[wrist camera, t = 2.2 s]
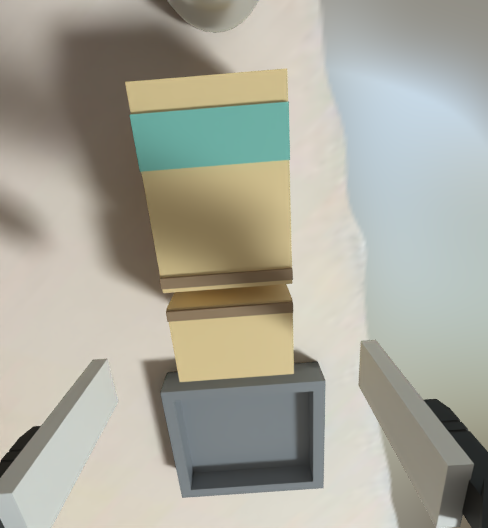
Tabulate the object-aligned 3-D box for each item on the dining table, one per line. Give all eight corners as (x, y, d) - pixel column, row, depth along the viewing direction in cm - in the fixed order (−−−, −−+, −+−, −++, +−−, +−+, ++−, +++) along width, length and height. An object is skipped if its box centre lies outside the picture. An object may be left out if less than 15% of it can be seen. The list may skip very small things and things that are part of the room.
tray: (167, 372, 27) (160, 392, 25) (317, 361, 27) (325, 380, 25) (186, 472, 31) (182, 497, 29) (317, 463, 31) (323, 488, 29)
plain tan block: (189, 263, 24) (165, 310, 16) (275, 256, 24) (292, 301, 16) (197, 317, 25) (178, 384, 18) (277, 311, 25) (294, 376, 18)
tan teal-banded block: (167, 112, 20) (123, 80, 12) (269, 104, 20) (287, 66, 12) (189, 260, 24) (164, 307, 16) (275, 253, 24) (293, 297, 16)
